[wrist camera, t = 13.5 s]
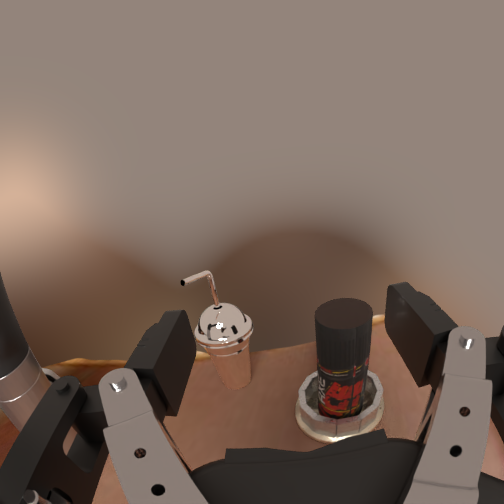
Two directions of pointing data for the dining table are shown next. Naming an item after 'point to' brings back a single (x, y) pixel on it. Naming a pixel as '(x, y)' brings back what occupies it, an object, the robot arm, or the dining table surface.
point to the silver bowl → (342, 428)
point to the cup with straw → (225, 337)
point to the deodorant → (342, 356)
